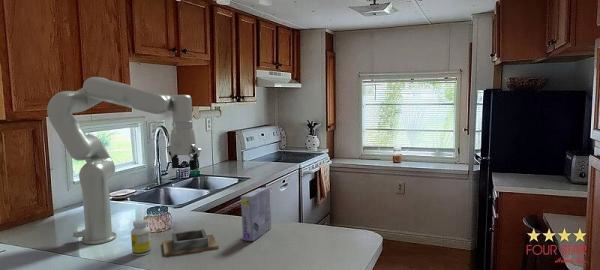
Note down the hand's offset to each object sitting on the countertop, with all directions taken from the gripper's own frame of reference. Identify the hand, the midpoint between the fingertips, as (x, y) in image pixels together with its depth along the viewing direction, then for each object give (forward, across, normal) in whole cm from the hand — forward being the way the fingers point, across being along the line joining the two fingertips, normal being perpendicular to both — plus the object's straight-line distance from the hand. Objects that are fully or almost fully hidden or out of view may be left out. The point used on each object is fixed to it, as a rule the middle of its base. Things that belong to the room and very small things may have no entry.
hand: (184, 168), depth 171 cm
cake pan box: (+27, +26, +14) cm, 40 cm away
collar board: (+27, +11, -9) cm, 30 cm away
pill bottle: (+28, 0, -22) cm, 35 cm away
